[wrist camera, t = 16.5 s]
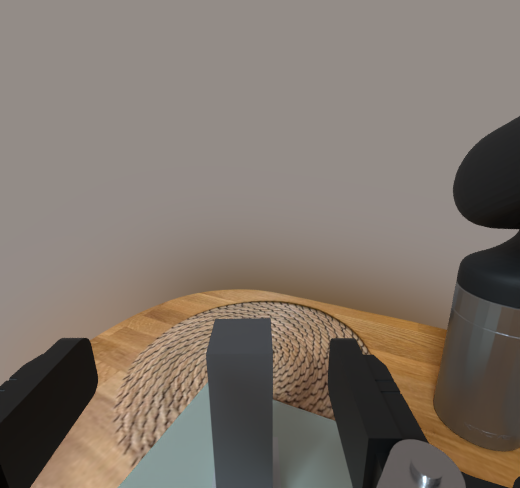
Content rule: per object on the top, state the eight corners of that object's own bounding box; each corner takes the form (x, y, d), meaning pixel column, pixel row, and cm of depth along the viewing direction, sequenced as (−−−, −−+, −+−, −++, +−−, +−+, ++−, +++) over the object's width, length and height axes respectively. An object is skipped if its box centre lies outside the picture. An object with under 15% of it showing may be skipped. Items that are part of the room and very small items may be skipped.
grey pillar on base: (284, 561, 23) (287, 378, 18) (204, 562, 23) (185, 379, 18) (277, 448, 31) (278, 304, 26) (219, 448, 31) (209, 305, 26)
